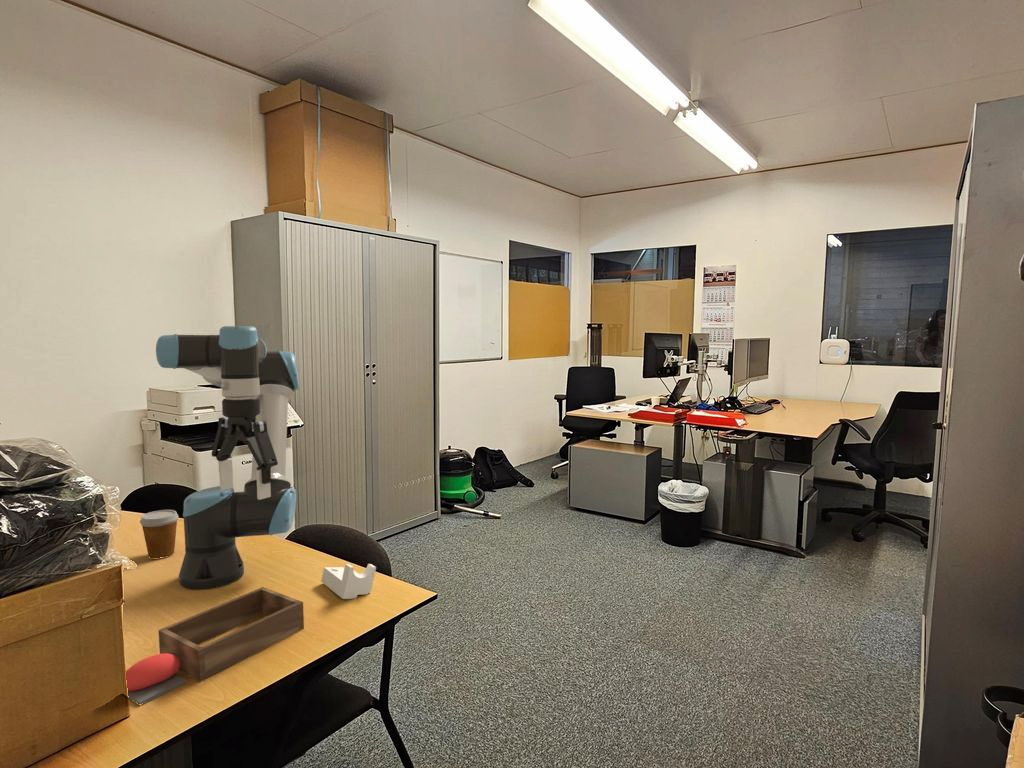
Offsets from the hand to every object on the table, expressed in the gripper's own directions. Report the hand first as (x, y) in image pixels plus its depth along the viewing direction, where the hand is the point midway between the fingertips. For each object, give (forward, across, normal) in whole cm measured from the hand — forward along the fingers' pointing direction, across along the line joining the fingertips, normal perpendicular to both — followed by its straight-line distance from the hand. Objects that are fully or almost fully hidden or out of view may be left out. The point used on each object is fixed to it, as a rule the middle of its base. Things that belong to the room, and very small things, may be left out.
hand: (244, 493), depth 130 cm
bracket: (+29, +6, +23) cm, 38 cm away
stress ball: (+28, +8, -25) cm, 39 cm away
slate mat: (+29, +8, -25) cm, 39 cm away
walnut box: (+29, +7, -8) cm, 31 cm away
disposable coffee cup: (+29, -55, +9) cm, 63 cm away
